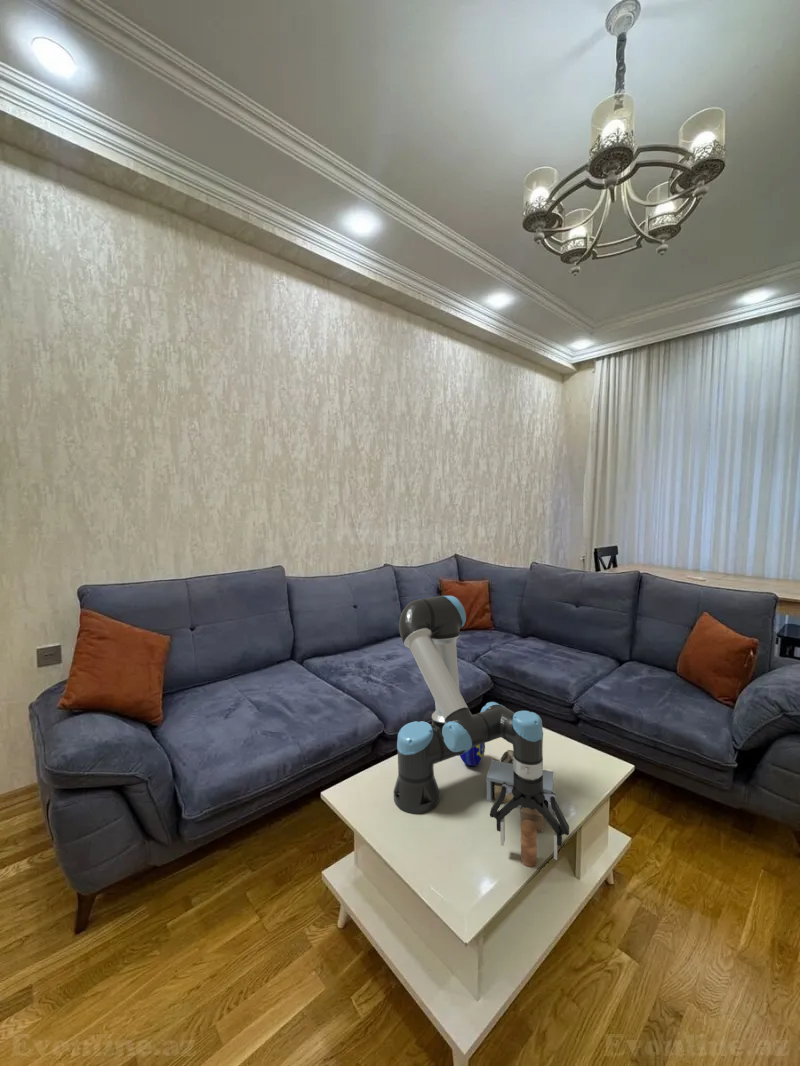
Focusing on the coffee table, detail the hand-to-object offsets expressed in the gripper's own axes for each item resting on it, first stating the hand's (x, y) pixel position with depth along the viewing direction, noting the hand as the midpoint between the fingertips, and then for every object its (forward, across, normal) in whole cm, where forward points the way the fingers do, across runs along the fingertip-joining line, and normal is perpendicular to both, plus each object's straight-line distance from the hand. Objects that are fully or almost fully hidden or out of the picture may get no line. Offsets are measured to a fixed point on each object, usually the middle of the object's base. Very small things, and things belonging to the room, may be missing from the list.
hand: (528, 848), depth 115 cm
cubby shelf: (+3, -5, +24) cm, 25 cm away
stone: (+3, -8, +36) cm, 37 cm away
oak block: (+3, -9, +24) cm, 26 cm away
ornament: (+3, -24, +38) cm, 45 cm away
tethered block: (+3, 0, +8) cm, 8 cm away
